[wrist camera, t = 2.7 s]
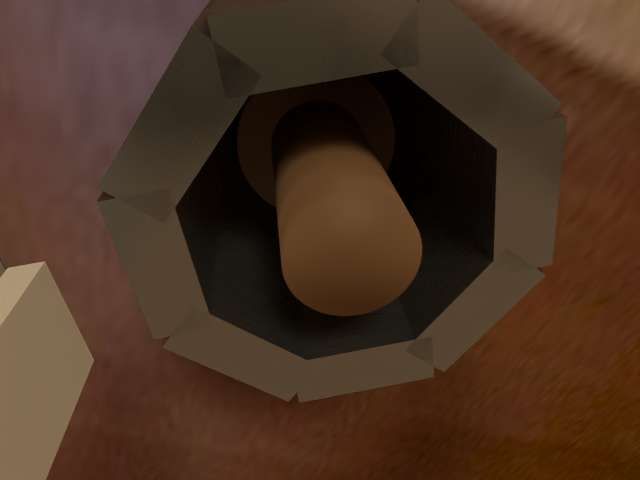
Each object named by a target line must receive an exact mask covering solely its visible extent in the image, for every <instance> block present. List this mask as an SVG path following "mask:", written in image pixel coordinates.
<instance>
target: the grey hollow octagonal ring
mask: <svg viewBox="0 0 640 480" xmlns="http://www.w3.org/2000/svg"><path fill="white" fill-rule="evenodd" d="M393 69H398V70H399V71H400V72H402V73H403V74H404V75H405V76H407V77H408V78H409V79H410V80H412V98H413V117H414V135H415V154H416V158H415V159H414V160H413V161H412V162H411V163H410V165H409V166H408V167H407V168H406V169H405V171H404V172H403V173H402V174H401V175H400V177H399V178H398V179H397V180H396V181H395V183H394V184H393V186H394V188H395V189H396V191H397V193H398V195H399V196H400V198H401V200H402V202H403V203H404V205H405V207H406V209H407V210H408V212H409V214H410V216H411V217H412V219H413V221H414V223H415V224H416V226H417V228H418V231H419V233H420V237H421V242H422V257H421V263H420V266H419V269H418V271H417V273H416V275H415V277H414V279H413V281H412V282H411V284H410V285H409V286H408V287H407V289H406V290H405V291H404V292H403V293H402V294H401V295H400V296H399V297H397V298H396V299H395V300H393V301H392V302H390V303H389V304H387V305H385V306H384V307H381V308H379V309H377V310H375V311H372V312H369V313H365V314H361V315H354V316H335V315H329V314H325V313H322V312H318V311H316V310H314V309H312V308H310V307H308V306H306V305H305V304H303V303H302V302H301V301H300V300H298V299H297V298H296V297H295V295H294V294H293V293H292V292H291V290H290V289H289V287H288V286H287V284H286V281H285V279H284V276H283V272H282V265H281V254H280V243H279V231H278V223H276V222H274V221H272V220H271V219H269V218H267V217H266V216H264V215H262V214H260V213H259V212H257V211H255V210H254V209H252V208H250V207H248V206H247V205H245V204H243V203H242V202H240V201H238V200H236V199H235V198H233V197H231V196H230V195H228V194H226V193H224V191H223V187H222V184H221V180H220V176H219V172H218V169H217V165H216V161H215V158H214V154H213V149H214V148H215V146H216V145H217V143H218V142H219V140H220V139H221V137H222V136H223V134H224V133H225V131H226V130H227V128H228V127H229V125H230V124H231V122H232V121H233V119H234V118H235V116H236V115H237V113H238V112H239V110H240V109H241V107H242V106H243V104H244V103H245V101H246V100H247V98H248V97H249V95H253V94H258V93H264V92H270V91H275V90H281V89H287V88H292V87H298V86H303V85H309V84H315V83H320V82H326V81H332V80H337V79H343V78H348V77H354V76H360V75H365V74H371V73H377V72H382V71H388V70H393ZM561 106H562V103H561V102H560V101H559V100H558V99H557V98H556V97H555V96H554V95H552V94H551V93H550V92H549V91H548V90H547V89H546V88H545V87H544V86H543V85H542V84H540V83H539V82H538V81H537V80H536V79H535V78H534V77H533V76H532V75H531V74H530V73H529V72H527V71H526V70H525V69H524V68H523V67H522V66H521V65H520V64H519V63H518V62H517V61H515V60H514V59H513V58H512V57H511V56H510V55H509V54H508V53H507V52H506V51H505V50H503V49H502V48H501V47H500V46H499V45H498V44H497V43H496V42H495V41H494V40H493V39H492V38H490V37H489V36H488V35H487V34H486V33H485V32H484V31H483V30H482V29H481V28H480V27H478V26H477V25H476V24H475V23H474V22H473V21H472V20H471V19H470V18H469V17H468V16H466V15H465V14H464V13H463V12H462V11H461V10H460V9H459V8H458V7H457V6H456V5H455V4H453V3H452V2H451V1H450V0H210V1H209V3H208V4H207V6H206V7H205V8H204V10H203V11H202V12H201V14H200V15H199V17H198V18H197V19H196V21H195V22H194V24H193V25H192V26H191V28H190V30H189V32H188V33H187V35H186V37H185V38H184V40H183V42H182V44H181V45H180V47H179V49H178V50H177V52H176V54H175V56H174V57H173V59H172V61H171V62H170V64H169V66H168V68H167V69H166V71H165V73H164V75H163V76H162V78H161V80H160V81H159V83H158V85H157V87H156V88H155V90H154V92H153V93H152V95H151V97H150V99H149V100H148V102H147V104H146V105H145V107H144V109H143V111H142V112H141V114H140V116H139V117H138V119H137V121H136V123H135V124H134V126H133V128H132V130H131V131H130V133H129V135H128V136H127V138H126V140H125V142H124V143H123V145H122V147H121V148H120V150H119V152H118V154H117V155H116V157H115V159H114V160H113V162H112V164H111V166H110V167H109V169H108V171H107V172H106V174H105V176H104V178H103V179H102V181H101V183H100V184H99V186H98V189H100V190H102V191H103V192H102V194H101V196H100V197H99V199H98V201H97V204H98V206H99V209H100V211H101V214H102V216H103V218H104V221H105V223H106V226H107V228H108V230H109V233H110V235H111V238H112V240H113V243H114V245H115V247H116V250H117V252H118V255H119V257H120V260H121V262H122V264H123V267H124V269H125V272H126V274H127V276H128V279H129V281H130V284H131V286H132V289H133V291H134V293H135V296H136V298H137V301H138V303H139V306H140V308H141V310H142V313H143V315H144V318H145V320H146V322H147V325H148V327H149V330H150V332H151V335H152V337H153V339H160V338H164V341H163V346H162V348H164V349H167V350H169V351H171V352H174V353H176V354H178V355H181V356H183V357H185V358H187V359H190V360H192V361H194V362H197V363H199V364H201V365H204V366H206V367H208V368H211V369H213V370H215V371H218V372H220V373H222V374H225V375H227V376H229V377H232V378H234V379H236V380H239V381H241V382H243V383H246V384H248V385H250V386H253V387H255V388H257V389H260V390H262V391H264V392H267V393H269V394H271V395H274V396H276V397H278V398H280V399H283V400H285V401H287V402H289V401H290V399H291V398H292V397H293V396H294V395H295V394H296V393H297V395H298V399H299V403H301V402H307V401H312V400H317V399H322V398H328V397H333V396H338V395H343V394H348V393H354V392H359V391H364V390H369V389H374V388H380V387H385V386H390V385H395V384H401V383H406V382H411V381H416V380H421V379H427V378H432V377H434V367H436V368H438V369H439V370H441V371H443V372H445V371H446V370H447V369H448V368H449V367H450V366H451V365H452V364H453V363H454V362H455V361H456V360H457V359H458V358H459V357H461V356H462V355H463V354H464V353H465V352H466V351H467V350H468V349H469V348H470V347H471V346H472V345H473V344H474V343H475V342H476V341H477V340H479V339H480V338H481V337H482V336H483V335H484V334H485V333H486V332H487V331H488V330H489V329H490V328H491V327H492V326H493V325H494V324H495V323H496V322H498V321H499V320H500V319H501V318H502V317H503V316H504V315H505V314H506V313H507V312H508V311H509V310H510V309H511V308H512V307H513V306H514V305H515V304H517V303H518V302H519V301H520V300H521V299H522V298H523V297H524V296H525V295H526V294H527V293H528V292H529V291H530V290H531V289H532V288H533V287H534V286H536V285H537V284H538V283H539V282H540V281H541V280H542V279H543V278H544V277H545V276H546V274H545V273H544V272H543V271H542V270H541V269H540V268H539V267H543V266H549V265H552V260H553V250H554V240H555V230H556V221H557V211H558V201H559V191H560V182H561V172H562V162H563V152H564V143H565V133H566V123H567V116H565V115H563V114H562V113H560V112H558V111H557V110H558V109H559V108H560V107H561Z"/></svg>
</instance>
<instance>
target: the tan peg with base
mask: <svg viewBox="0 0 640 480" xmlns="http://www.w3.org/2000/svg"><path fill="white" fill-rule="evenodd" d="M394 146H395V129H394V122H393V119H392V115H391V112H390V110H389V108H388V105H387V103H386V102H385V100H384V98H383V97H382V95H381V94H380V93H379V92H378V90H377V89H376V88H375V87H374V86H373V84H372V83H371V82H370V81H369V80H368V79H367V78H366V77H365V76H364V75H360V76H354V77H348V78H343V79H337V80H332V81H326V82H320V83H315V84H309V85H303V86H298V87H292V88H287V89H281V90H275V91H270V92H264V93H258V94H253V95H249V97H248V98H247V100H246V101H245V103H244V105H243V107H242V110H241V113H240V117H239V122H238V132H237V152H238V158H239V162H240V166H241V169H242V171H243V173H244V175H245V177H246V179H247V181H248V182H249V184H250V185H251V187H252V188H253V189H254V190H255V192H256V193H257V194H258V195H259V196H260V197H262V198H263V199H264V200H265V201H266V202H268V203H269V204H271V205H272V206H274V207H276V208H277V220H278V231H279V243H280V254H281V265H282V272H283V276H284V279H285V281H286V284H287V286H288V287H289V289H290V290H291V292H292V293H293V294H294V295H295V297H296V298H297V299H298V300H300V301H301V302H302V303H303V304H305V305H306V306H308V307H310V308H312V309H314V310H316V311H318V312H322V313H325V314H329V315H335V316H354V315H361V314H365V313H369V312H372V311H375V310H377V309H379V308H381V307H384V306H385V305H387V304H389V303H390V302H392V301H393V300H395V299H396V298H397V297H399V296H400V295H401V294H402V293H403V292H404V291H405V290H406V289H407V287H408V286H409V285H410V284H411V282H412V281H413V279H414V277H415V275H416V273H417V271H418V269H419V266H420V263H421V257H422V242H421V237H420V233H419V231H418V228H417V226H416V224H415V223H414V221H413V219H412V217H411V216H410V214H409V212H408V210H407V209H406V207H405V205H404V203H403V202H402V200H401V198H400V196H399V195H398V193H397V191H396V189H395V188H394V186H393V184H392V182H391V181H390V179H389V177H388V175H387V174H386V172H387V171H388V168H389V166H390V163H391V160H392V157H393V153H394Z"/></svg>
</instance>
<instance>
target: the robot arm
mask: <svg viewBox="0 0 640 480" xmlns="http://www.w3.org/2000/svg"><path fill="white" fill-rule="evenodd" d="M93 362H94V359H93V357H92V355H91V353H90V351H89V349H88V347H87V345H86V343H85V341H84V339H83V337H82V335H81V333H80V331H79V329H78V327H77V325H76V323H75V321H74V319H73V317H72V315H71V313H70V311H69V309H68V307H67V305H66V303H65V301H64V299H63V297H62V295H61V293H60V291H59V289H58V287H57V285H56V283H55V281H54V279H53V277H52V275H51V273H50V271H49V269H48V267H47V265H46V263H45V262H39V263H33V264H28V265H22V266H16V267H11V268H8V269H7V270H6V271H5V272H4V274H3V275H2V276H1V277H0V480H46V478H47V475H48V473H49V470H50V468H51V465H52V463H53V460H54V458H55V455H56V453H57V450H58V448H59V446H60V443H61V441H62V438H63V436H64V433H65V431H66V428H67V426H68V423H69V421H70V418H71V416H72V413H73V411H74V409H75V406H76V404H77V401H78V399H79V396H80V394H81V391H82V389H83V386H84V384H85V381H86V379H87V376H88V374H89V372H90V369H91V367H92V364H93Z"/></svg>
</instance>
